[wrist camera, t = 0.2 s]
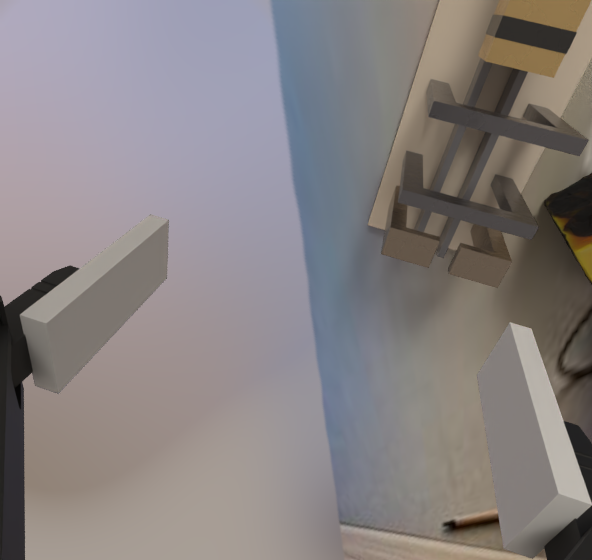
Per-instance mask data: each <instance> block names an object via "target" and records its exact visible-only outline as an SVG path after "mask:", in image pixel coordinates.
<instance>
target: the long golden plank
mask: <svg viewBox="0 0 592 560" xmlns="http://www.w3.org/2000/svg"><path fill="white" fill-rule="evenodd" d="M591 1H592V0H499V2H498V5H497V7H496V10H495V13H494V15H493V16H492V18H491V21H490V23H489V26H488V29H487V31H486V36H485V39H484V41H483V44H482V46H481V49H480V51H479V54H478V56H479V57H481V58H482V59H483V60H484V61H486V62H490V63H494V64H498V65H502V66H507V67H511V68H515V69H519V70H523V71H527V72H531V73H535V74H539V75H544V76H548V77H552V78H554V77H555V74H556V72H557V70H558V68H559V66H560V64H561V62H562V60H563V58H564V56H565V54H567V52H568V50H569V48H570V46H571V44H572V42H573V40H574V38H575V36H576V34H577V32H576V31H577V29H578V27H579V25H580V23H581V21H582V19H583V17H584V15H585V13H586V11H587V9H588V7H589V5H590V3H591Z"/></svg>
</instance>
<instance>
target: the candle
mask: <svg viewBox="0 0 592 560" xmlns="http://www.w3.org/2000/svg"><path fill="white" fill-rule="evenodd" d="M545 206H546V207H547V210H548V211H549V213H550V215H551V217H552V219H553V221H554V223H555V224H556V226H557V227H558V229H559V231H560V232H561V234H562V236H563V237H564V239H565V241H566V243H567V245H568V246H569V248H570V249H571V251H572V253H573V255H574V256H575V258H576V260H577V261H578V262H579V263H580V266H581V267H582V269H583V271H584V273H585V275H586V277H587V278H588V279H589V281H590V283H591V285H592V173H591V174H590V175H588V176H585V177H583V178H582V179H581V180H580V181H578V182H576V183H574V184H573V185H571V186H569V187H568V188H566V189H564V190H562V191H560V192H557V193H554V194H551V195H550V196H549V197H548V198H547V199H546V200H545Z"/></svg>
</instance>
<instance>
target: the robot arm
mask: <svg viewBox="0 0 592 560" xmlns="http://www.w3.org/2000/svg"><path fill="white" fill-rule="evenodd" d="M168 226H169V220H167V219H163V218H160V217H157V216H154V215H149V216H148V217H146V218H145V219H144V220H143V221H141V222H140V223H139V224H137V225H136V226H135V227H133V228H132V229H131V230H129V231H128V232H127V233H126V234H124V235H123V236H122V237H120V238H119V239H118V240H116V241H115V242H114V243H113V244H111V245H110V246H109V247H107V248H106V249H105V250H104V251H102V252H101V253H100V254H98V255H97V256H96V257H94V258H93V259H92V260H90V261H89V262H88V263H87V264H85V265H84V266H83V267H81V268H80V269H79V268H76V267H73V266H67V267H65V268H62V269H59V270H56V271H54V272H52V273H51V274H49V275H48V276H47V277H45V278H44V279H43V280H41V282H38V283H37V284H35V285H34V286H33V287H32V288H31V290H30V289H29V290H27V291H26V292H24V293H23V294H22V295H20V296H19V297H17V298H16V299H15V300H13V301H12V302H10V303H9V304H8V305H6V306H5V307H4V304H3V301H2V298H1V296H0V560H25V515H24V514H25V512H24V508H25V507H24V388H23V384H22V381H23V380H24V379H25V378H26V377H28V376H29V375H30V374H31V373H32V374H33V379H34V383H35V386H37V387H40V388H43V389H46V390H49V391H51V392H54V393H57V394H59V393H60V392H61V391H62V390H63V388H64V387H65V386H66V385H67V384H68V383H69V382H70V381H71V380H72V379H73V378H74V377H75V376H76V375H77V374H78V372H79V371H80V370H81V369H82V368H83V367H84V366H85V365H86V364H87V363H88V362H89V361H90V360H91V359H92V358H93V356H94V355H95V354H96V353H97V352H98V351H99V350H100V349H101V348H102V347H103V346H104V345H105V344H106V342H108V340H109V339H110V338H111V337H112V336H113V335H114V334H115V333H116V332H117V331H118V330H119V329H120V328H121V327H122V325H123V324H124V323H125V322H126V321H127V320H128V319H129V318H130V317H131V316H132V315H133V314H134V313H135V312H136V310H138V308H139V307H140V306H141V305H142V304H143V303H144V302H145V301H146V300H147V299H148V298H149V297H150V296H151V295H152V294H153V292H154V291H155V290H156V289H157V288H158V287H159V286H160V285H161V284H162V283H163V282H164V281H165V279H167V261H168V260H167V259H168V228H169V227H168ZM477 378H478V385H479V391H480V398H481V404H482V411H483V417H484V424H485V430H486V437H487V443H488V450H489V456H490V463H491V469H492V476H493V482H494V489H495V495H496V502H497V508H498V515H499V521H500V528H501V534H502V541H503V547H504V549H506V550H509V551H512V552H515V553H518V554H520V555H523V556H526V557H529V558H532V559H533V558H534V557H535V556H536V555H537V554H538V553H539V552H541V551H542V550H543V549H544V548H545V552H546V556H547V560H592V444H591V442H590V440H589V439H588V438H587V436H586V435H585V434H584V432H583V431H582V430H581V429H580V427H579V426H578V425H575V424H572V423H569V422H565V421H563V419H562V416H561V413H560V410H559V407H558V404H557V401H556V398H555V395H554V392H553V390H552V387H551V384H550V381H549V378H548V375H547V372H546V369H545V366H544V364H543V361H542V358H541V355H540V352H539V349H538V346H537V343H536V340H535V338H534V335H533V332H532V329H531V328H528V327H524V326H521V325H518V324H514V323H511V322H510V323H509V324H508V326H507V328H506V329H505V331H504V332H503V334H502V336H501V337H500V339H499V340H498V342H497V344H496V345H495V347H494V348H493V350H492V352H491V353H490V355H489V357H488V358H487V360H486V361H485V363H484V365H483V366H482V368H481V369H480V371H479V373H478V374H477Z"/></svg>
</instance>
